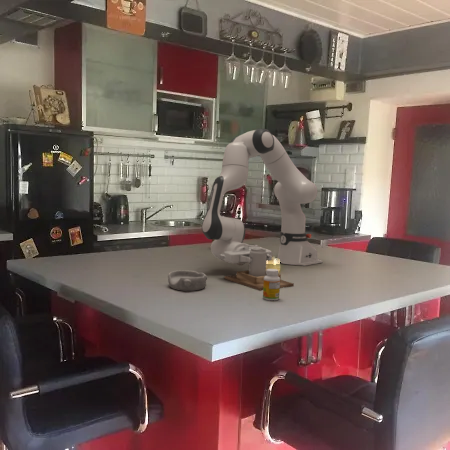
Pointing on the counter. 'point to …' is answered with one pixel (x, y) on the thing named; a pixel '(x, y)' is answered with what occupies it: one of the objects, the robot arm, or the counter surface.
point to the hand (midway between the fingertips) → (260, 259)
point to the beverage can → (258, 262)
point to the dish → (187, 280)
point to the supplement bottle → (271, 285)
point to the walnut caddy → (253, 280)
